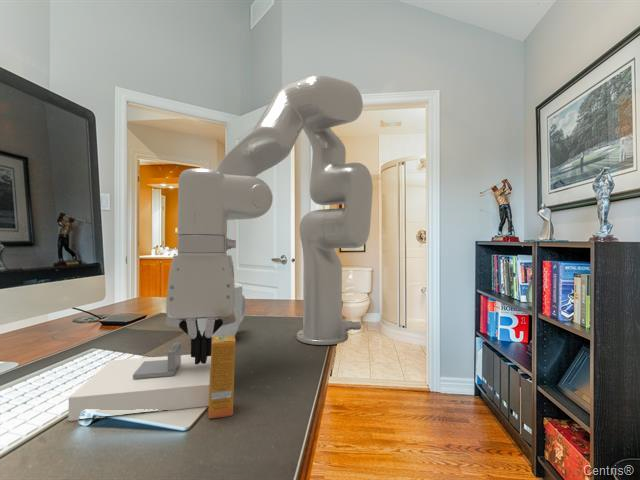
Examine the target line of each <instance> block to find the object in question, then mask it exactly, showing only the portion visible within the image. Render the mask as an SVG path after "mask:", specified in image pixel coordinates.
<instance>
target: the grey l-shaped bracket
mask: <svg viewBox="0 0 640 480" xmlns="http://www.w3.org/2000/svg"><path fill="white" fill-rule="evenodd" d="M181 355H182V341H181V342H180V341H179V342H174V343H173V344H172V346H171V347H170V348H169V350H168V351H167V356H168V360H157V361H144V362H143V363H142V365H141V366H140V367H139V368H138V369H137V371H136V372H135V373H134V374H133V379H138V378H150V377H161V376H173V375H175V373H176V371H177V369H178V367H179V365H180V363H181Z"/></svg>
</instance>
